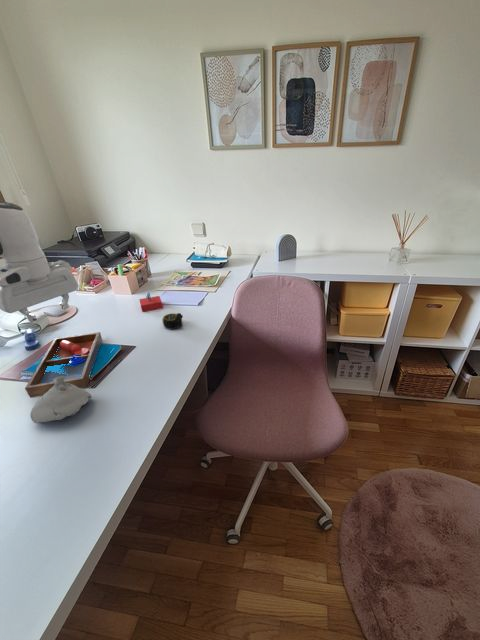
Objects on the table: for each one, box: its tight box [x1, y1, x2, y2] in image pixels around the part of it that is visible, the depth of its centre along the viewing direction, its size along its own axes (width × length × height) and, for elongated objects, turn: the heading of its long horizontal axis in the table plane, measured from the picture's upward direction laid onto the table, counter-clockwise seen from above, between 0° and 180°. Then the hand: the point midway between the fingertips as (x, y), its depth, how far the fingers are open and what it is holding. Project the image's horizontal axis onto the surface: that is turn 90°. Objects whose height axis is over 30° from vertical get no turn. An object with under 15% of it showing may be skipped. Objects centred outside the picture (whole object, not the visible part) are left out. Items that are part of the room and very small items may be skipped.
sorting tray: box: [24, 332, 103, 398], centre depth 89 cm, size 14×26×3 cm, turn 15°
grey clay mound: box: [29, 376, 93, 424], centre depth 71 cm, size 12×12×11 cm
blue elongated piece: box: [23, 328, 41, 351], centre depth 101 cm, size 12×4×3 cm, turn 35°
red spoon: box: [60, 340, 90, 355], centre depth 93 cm, size 12×4×3 cm, turn 60°
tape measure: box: [161, 312, 184, 330], centre depth 108 cm, size 7×7×4 cm
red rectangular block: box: [139, 291, 164, 313], centre depth 121 cm, size 8×7×6 cm
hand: (50, 314), depth 89 cm, fingers open, 8 cm apart
